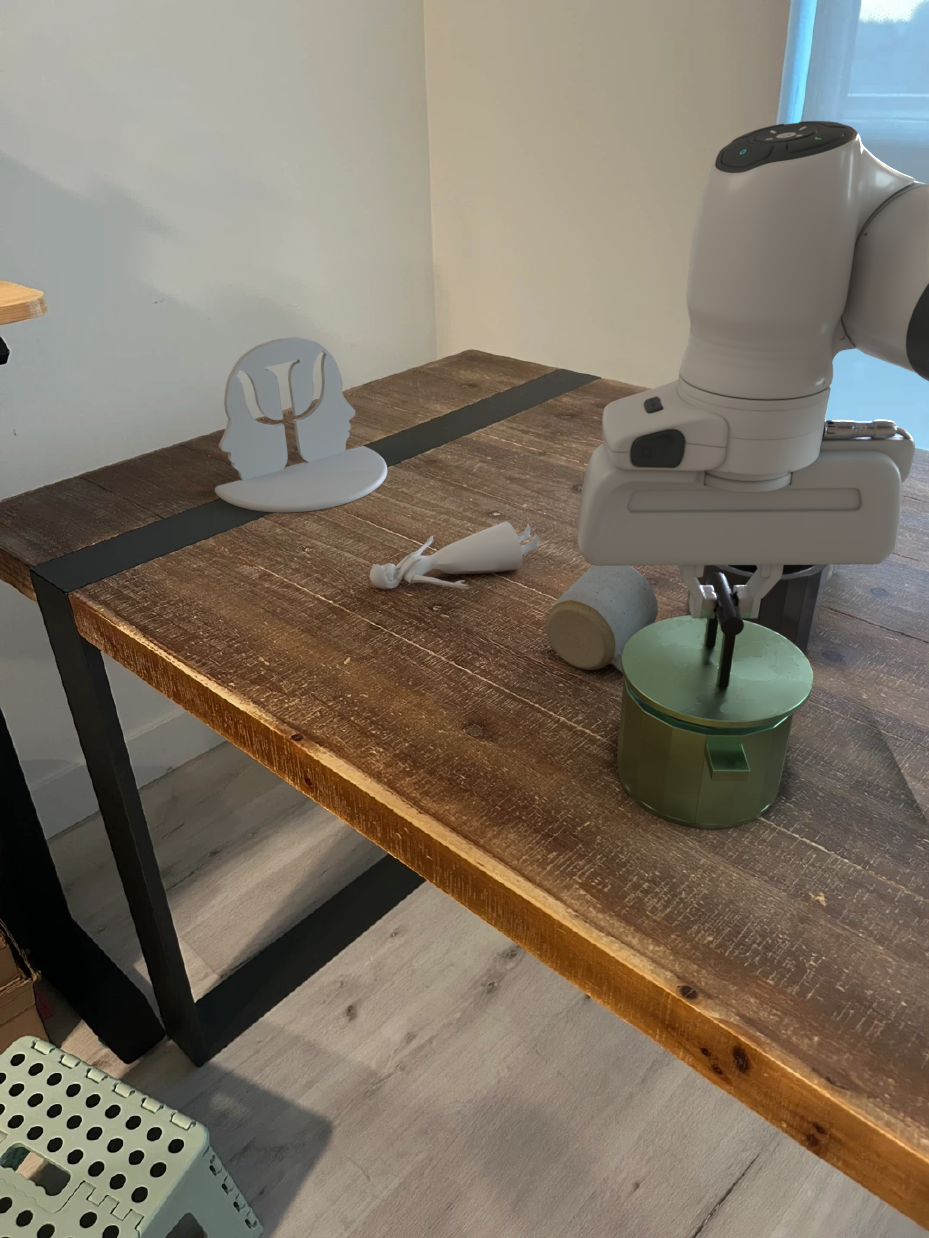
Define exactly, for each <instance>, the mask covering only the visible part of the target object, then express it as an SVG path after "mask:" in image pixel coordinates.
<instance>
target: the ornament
mask: <svg viewBox="0 0 929 1238" xmlns="http://www.w3.org/2000/svg"><path fill="white" fill-rule="evenodd" d="M321 353H322V354H321ZM319 355H321V360H320V374H321V375H320V376H321V387H320V394H319V397H318V400H317V402H316V404H315V405H314V406H313V408H312V409H310V410H309V411H308V412H307V413H306V414H305V415H302V414H304V413H305V412H306V411H307V410H308V409H309V408H310V406H311V404H312V402H313V399H314V393H315V392H314V391H315V386H314V367H315V363H316V360H317V359H318V357H319ZM291 362H292V363H291ZM286 363H291V364H290V366H289V368H288V372H287V381H288V382H287V383H288V389H289V396H290V397H289V398H290V404H291V410H292V415H293V416H294V417H296V416H297V417H298V416H300V415H302V416H301V417H298V418H294V419H293V420H292V422H293V425H294V434H295V441H296V447H297V453H298V455H299V456H300V457H301V458H302V460H304V461H303V462H300V463H295V464H291V465H289V466H287V463H288V460H289V454H288V446H287V445H288V444H287V436H286V431H285V430H286V429H285V424H284V423H283V422H279V423H275V424H268V423H263V422H261V421H258V420H256V419H255V418H254V416H253V415H252V413H251V411H250V410H249V407H248V404H247V401H246V396H245V390H244V386H243V382H242V381H241V379H240V377H239V376H238V375H239V372H240V371H241V372H243V373H245V375H246V376H247V377H248V379H249V381H250V383H251V385H252V388H253V392H254V398H255V404H256V405H257V408H258V409H259V410H258V411H260V413H261V414H262V415H263V416H265V417H266V418H268V419H270V420H273V421H281V420H284V414H283V407H282V406H283V405H282V397H281V390H280V389H281V388H280V383H279V380H278V376H277V375H276V374H275V372H274V371H273V370H271V369H270V368H269V367H274V366H279V365H283V364H286ZM342 391H343V378H342V374H341V371H340V368H339V365H338V363H337V362H336V359H335V358H334V356H333V355H332V353H331V352H330V351H329V350H328V349H326V348H325V347H324V346H323V345H322V344H320V343H319V342H317V341H314V340H312V339H309V338H305V337H299V336H291V337H282V338H281V337H280V338H275V339H272V340H269V341H267V342H263V343H260V344H257V345H255V346H254V347H252V348H250V349H249V350H248V351H247V352H245V353H244V354H242V356H240V358H238V359H237V361H236V362H235V363H234V365H233V367H232V369H231V371H230V372H229V375H228V377H227V379H226V384H225V389H224V400H223V403H224V404H223V406H224V412H225V414H226V416H227V422H226V427H225V430H224V432H223V435H222V437H221V439H220V441H219V443H218V449H220V450H221V451H222V452H225V453H227V460H228V461H229V462H231V463H230V466H231V467H232V468H233V469H235V470H236V471H237V473H238V477H239V478H240V479H237V480H234V481H231V482H227V483H223V484H219V485H217V486H215V488H214V493H215V495H217V496H218V497H219V498H220V499H222V500H223V501H224V502H227V503H229V504H230V505H233V506H236V507H239V508H241V509H247V510H251V511H257V512H264V513H279V514H281V513H303V512H313V511H320V510H326V509H331V508H334V507H338V506H342V505H344V504H345V505H346V504H348V503H352V502H354V501H357V500H358V499H361V498H364V497H366V496H367V495H369V494H372V492H374V491H376V490H377V489H378V488H379V487H380V486H381V485H383V483H384V482H385V480H386V478H387V475H388V465H387V463H386V461H385V459H384V458H383V457H382V456H381V454H379V453H378V452H377V451H375V450H373V449H371V448H370V447H367V446H364V445H361V446H356V447H354V448H350V449H346V448H347V440H348V439H349V438H350V435H351V434H350V431H351V429H352V424H351V423H350V420H351V419H353V418H354V417H355V416H356V410H355V408H354V407H353V406H352V405H351V404H350V403H349V402H348V400H347V399H346V398H345V396H344V393H343V392H342Z"/></svg>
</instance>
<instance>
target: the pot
mask: <svg viewBox="0 0 929 1238" xmlns="http://www.w3.org/2000/svg"><path fill="white" fill-rule="evenodd" d="M622 680H623V681H622V692H621V705H620V716H619V727H618V740H617V749H616V750H617V751H616V761H617V774H618V778H619V781H620V783H621V786H622V787H623V789H624V790H625V792H626V794H628V796H629V797H630V798H631V799H632V800H633V801H634V802H635V803H636V804H637V805H639V807H641V808H643V809H644V810H645V811H647V812H649V813H650V814H652V815H654V816H656V817H658V818H660V819H662V820H665V821H667V822H670V823H673V824H675V825H680V826H685V827H688V828H694V829H695V828H696V829H704V830H705V829H707V830H719V829H721V830H723V829H729V828H735V827H738V826H742V825H746V824H748V823H750V822H753V821H754V820H756V819H758V818H760V817H761V816H763V815H764V814H765V813H767V812H768V810H769V809H770V808H771V807H772V806H773V804H774V802H775V801H776V798H777V797H778V793H779V788H780V785H781V781H782V776H783V772H784V767H785V762H786V756H787V751H788V747H789V741H790V737H791V732H792V726H793V722H794V717H795V713H793V714H792V715H790V716H788V717H786V718H784V719H782V720H779V721H776V722H773V723H770V724H766V725H762V726H756V727H748V728H719V727H710V726H704V725H699V724H694V723H690V722H687V721H683V720H680V719H677V718H674V717H672V716H669V715H667V714H665V713H663V712H661V711H658V710H657V709H655V708H653V707H652V706H650V705H648V704H647V703H646V702H644V701H643V700H642V699H640V698H639V697H638V696H637V695H636V694H635V693H634V692H633V691H632V689H631V688H630V687H629V685H628V684H627V682H626V680H625V678H624V677H623V679H622Z"/></svg>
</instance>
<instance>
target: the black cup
mask: <svg viewBox="0 0 929 1238" xmlns="http://www.w3.org/2000/svg"><path fill="white" fill-rule="evenodd" d="M757 569H758V568H757V566H756V565H704V572H703V576H702V577H697V579H698V581H699V583H700V585H706V579H707V577H708V576H709V575H711V574H713V573H722V574H724V575H725V576H726V578H727V581H728V583H729V586H730V588H731V591H732V594H733V588H734V585H746V583H747V582H748V581H749V579H750V578H751V577H752V576H753V574H754V573H755V572H756V570H757ZM828 570H829V565H784V566H783V572H782V577H781V579H780V580H779V581H778V582H777V583H776V584H775V585H774V586H773V587H772V588H771V590H770V591H769V592H768V593H767V594H766V595H765V596H764V597H763V598H761V600H760V606H759V613H758V617H757V618H742V620H744V621H748V622H751V623H754V624H757V625H760V626H762V627H765V628H768V629H770V630H772V631H774V632H776V633H778V634H779V635H781V636H783V637H785V638H786V639H788V640H789V641H790V642H792V643H793V644H794V645H795V646H796V647H797V648H799V649H800V650H801V652H802V653H803V654H804V655H805V656H807V655H808V654H809V653H810V652H811V650H812V648H813V645H814V643H815V638H816V633H817V628H818V623H819V618H820V614H821V608H822V604H823V598H824V596H825V595H824V594H825V589H826V584H827V581H828V580H827V575H828ZM826 580H827V581H826ZM687 590H688V591H687V599H686V607H685V615H684V616H688V615H691V613H690V607H689V601H690V591H689V589H687Z"/></svg>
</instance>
